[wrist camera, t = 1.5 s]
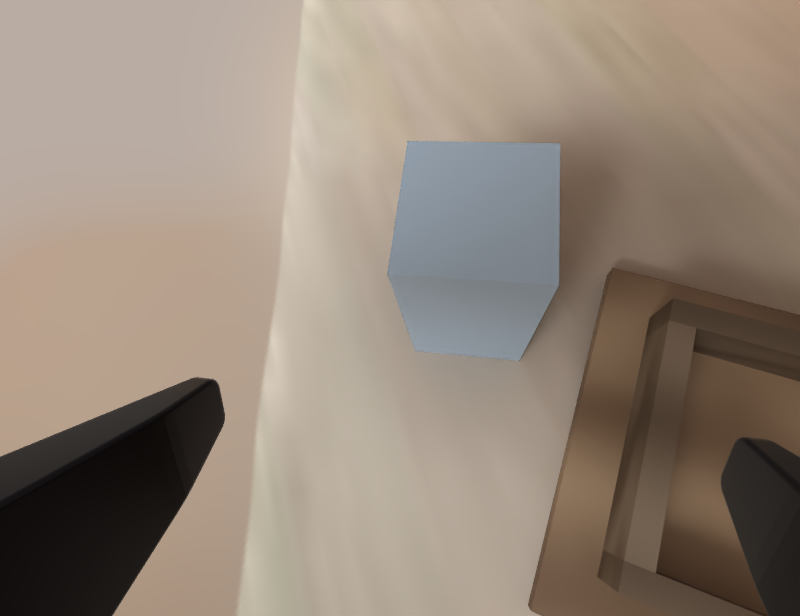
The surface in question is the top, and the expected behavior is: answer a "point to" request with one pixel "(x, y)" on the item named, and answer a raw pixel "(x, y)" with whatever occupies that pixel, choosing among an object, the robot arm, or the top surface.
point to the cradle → (665, 453)
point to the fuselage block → (476, 245)
